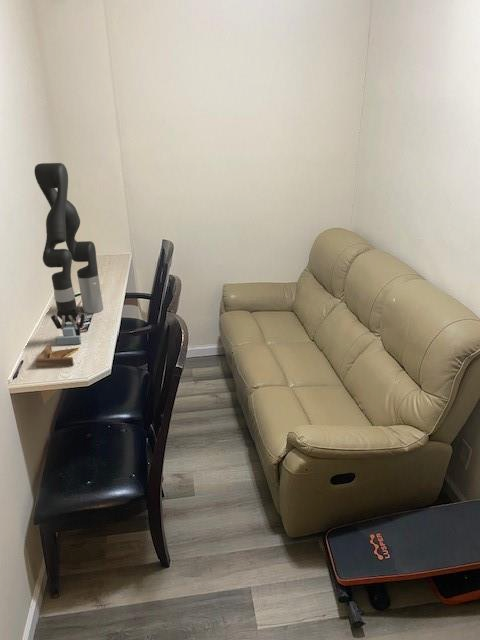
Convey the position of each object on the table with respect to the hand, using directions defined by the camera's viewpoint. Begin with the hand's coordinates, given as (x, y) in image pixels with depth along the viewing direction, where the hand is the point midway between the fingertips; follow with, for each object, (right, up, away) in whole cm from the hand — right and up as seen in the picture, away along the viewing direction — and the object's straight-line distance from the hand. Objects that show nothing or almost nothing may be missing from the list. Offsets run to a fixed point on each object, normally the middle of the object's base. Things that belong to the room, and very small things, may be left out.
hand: (72, 336), depth 195 cm
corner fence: (+1, -8, -17) cm, 19 cm away
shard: (0, -7, -12) cm, 14 cm away
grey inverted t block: (0, -1, 0) cm, 1 cm away
